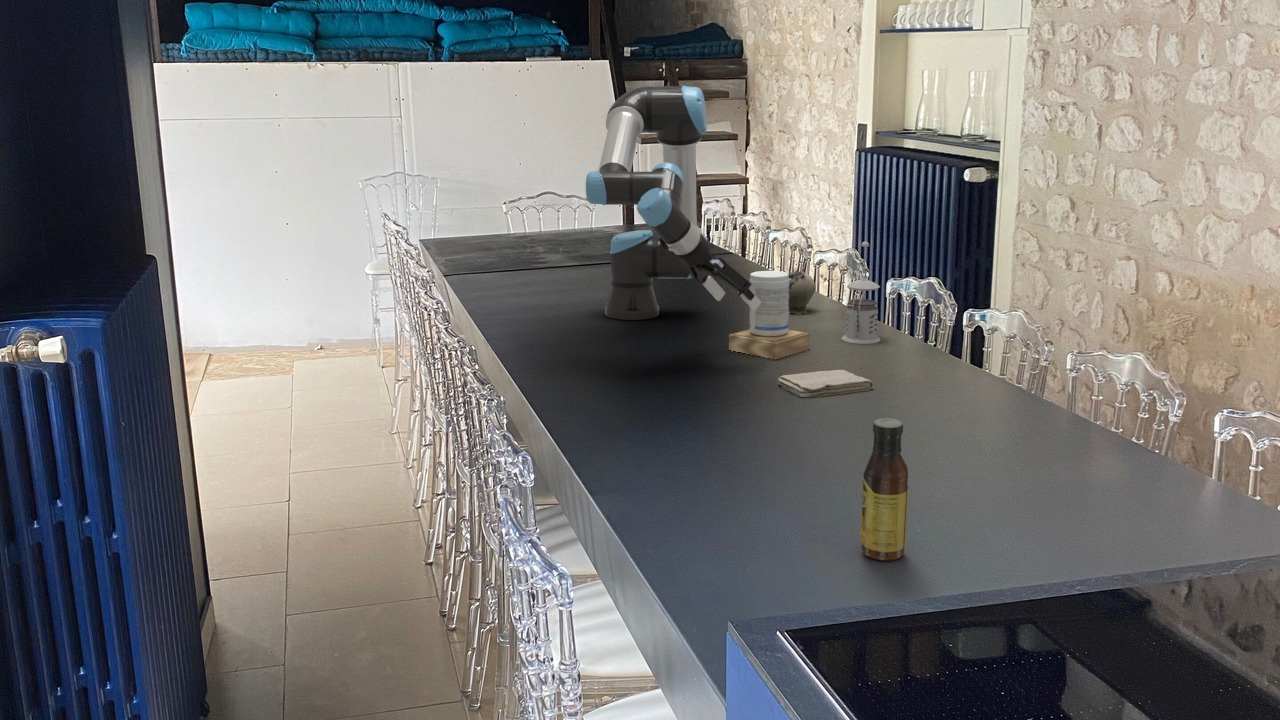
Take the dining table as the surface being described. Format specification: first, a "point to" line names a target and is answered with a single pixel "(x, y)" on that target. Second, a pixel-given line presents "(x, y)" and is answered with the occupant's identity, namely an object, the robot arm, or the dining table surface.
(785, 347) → the riser
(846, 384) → the washcloth
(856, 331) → the french press
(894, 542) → the sauce bottle
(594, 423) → the dining table surface
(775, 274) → the supplement tub
